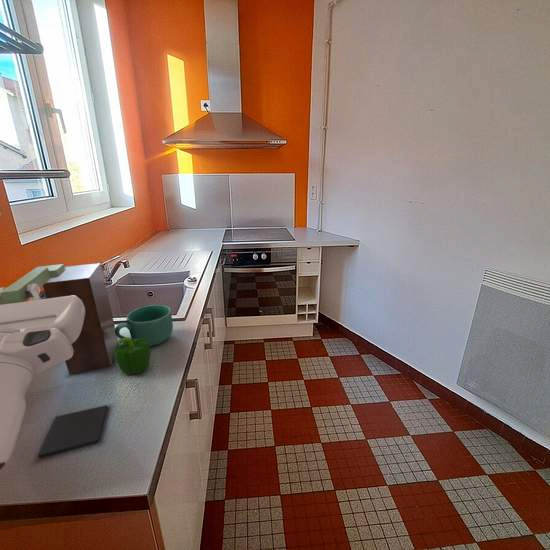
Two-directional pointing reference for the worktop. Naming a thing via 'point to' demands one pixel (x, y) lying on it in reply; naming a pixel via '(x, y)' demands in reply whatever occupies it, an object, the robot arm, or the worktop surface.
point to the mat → (74, 431)
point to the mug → (148, 324)
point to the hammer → (30, 282)
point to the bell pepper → (132, 355)
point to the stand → (88, 316)
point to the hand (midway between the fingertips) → (21, 287)
